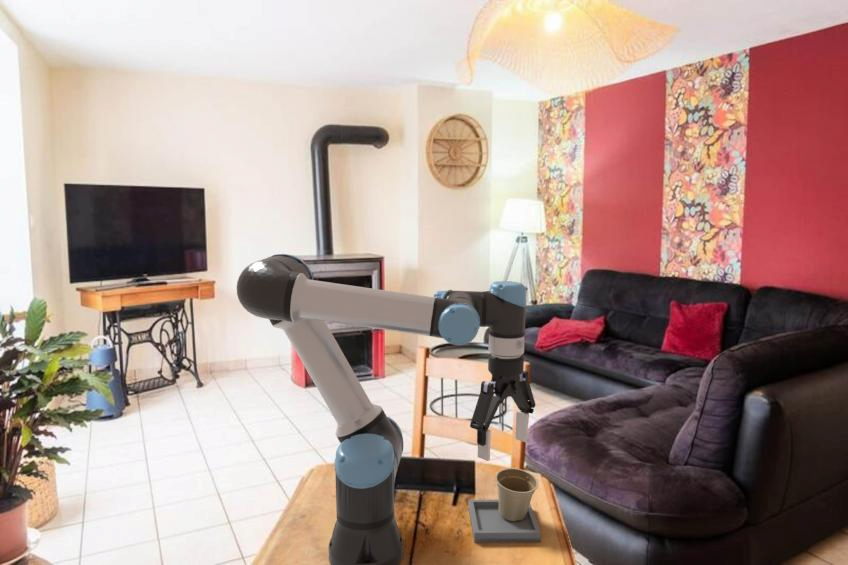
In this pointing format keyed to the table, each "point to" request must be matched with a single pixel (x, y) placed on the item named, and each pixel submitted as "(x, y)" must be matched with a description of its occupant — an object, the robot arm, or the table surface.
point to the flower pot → (515, 492)
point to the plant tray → (501, 524)
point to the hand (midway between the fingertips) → (503, 449)
